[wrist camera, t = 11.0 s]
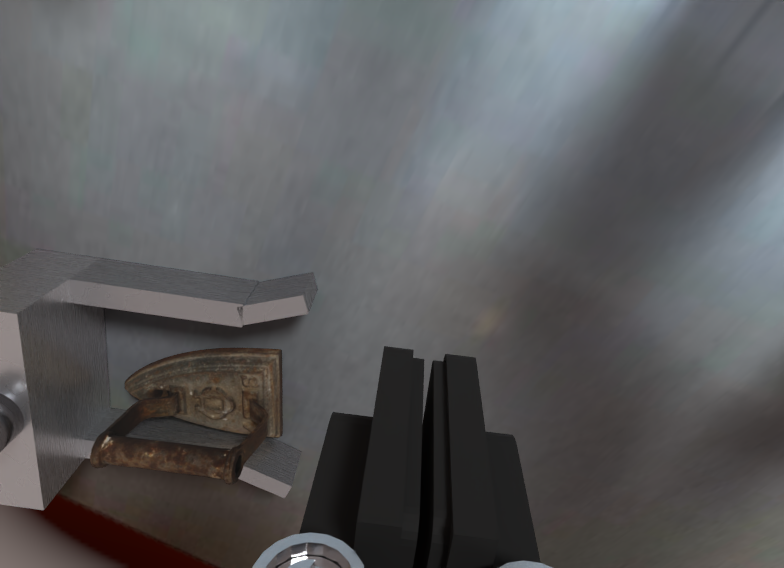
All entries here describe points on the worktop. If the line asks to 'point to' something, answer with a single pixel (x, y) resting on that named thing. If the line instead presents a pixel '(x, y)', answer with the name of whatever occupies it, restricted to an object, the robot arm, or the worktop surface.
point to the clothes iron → (199, 411)
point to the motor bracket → (90, 368)
